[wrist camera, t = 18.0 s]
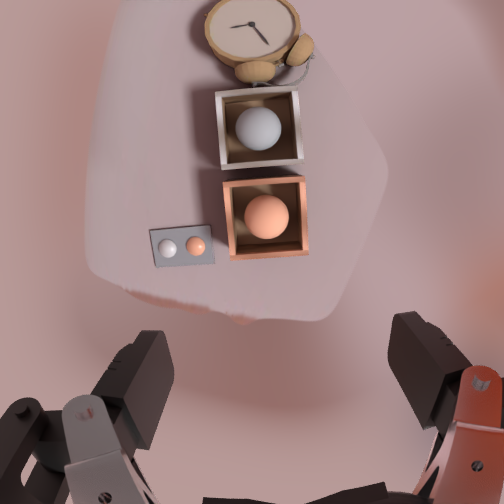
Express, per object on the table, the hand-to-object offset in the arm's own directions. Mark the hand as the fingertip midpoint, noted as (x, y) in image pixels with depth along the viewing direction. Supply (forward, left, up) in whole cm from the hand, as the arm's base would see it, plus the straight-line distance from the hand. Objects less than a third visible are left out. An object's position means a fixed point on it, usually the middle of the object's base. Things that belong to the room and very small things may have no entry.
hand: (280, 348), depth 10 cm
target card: (+4, -11, -28) cm, 30 cm away
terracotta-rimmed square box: (0, 0, -28) cm, 28 cm away
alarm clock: (-22, +1, -29) cm, 36 cm away
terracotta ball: (0, 0, -25) cm, 25 cm away
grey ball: (-10, 0, -25) cm, 27 cm away
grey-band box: (-10, 0, -28) cm, 30 cm away
